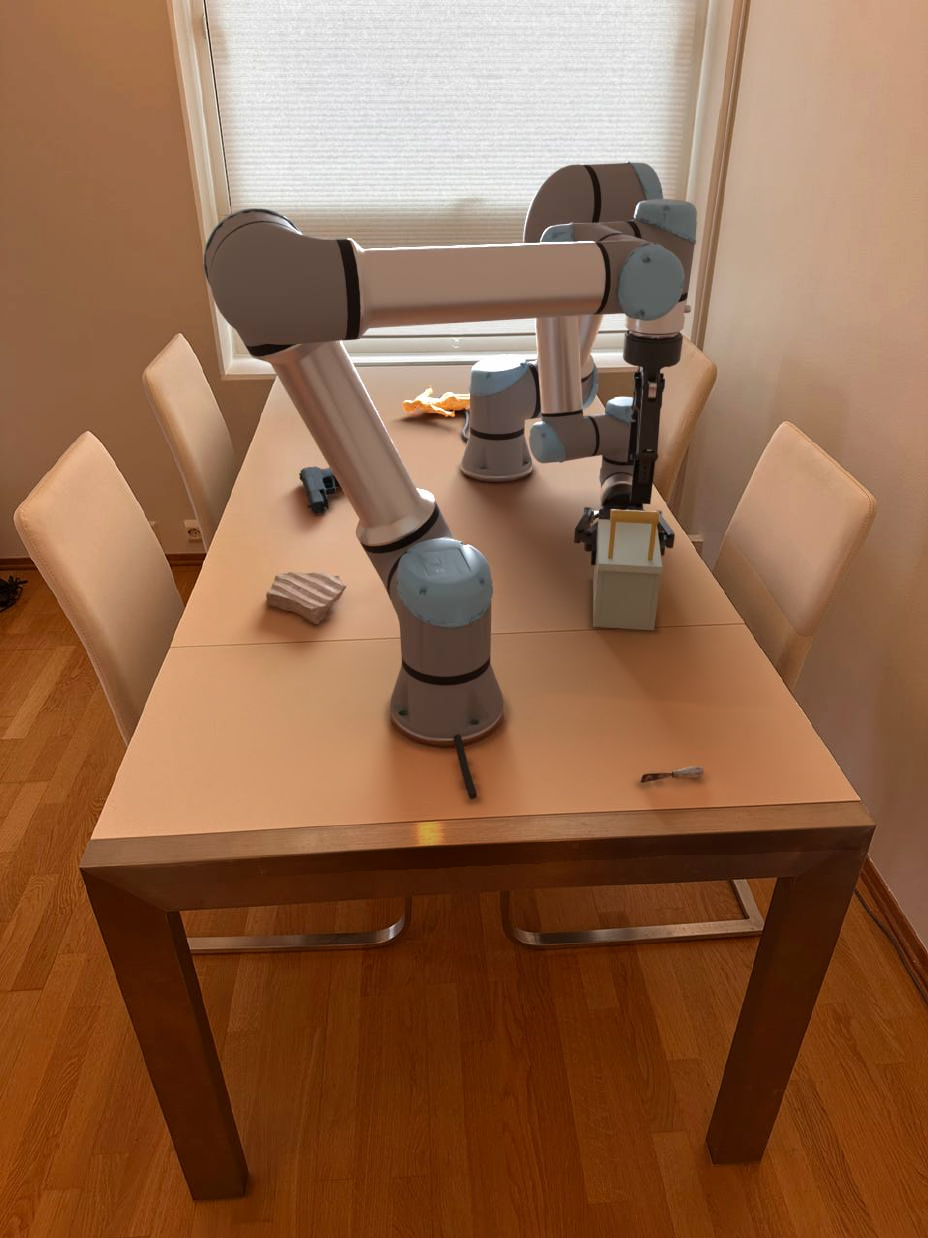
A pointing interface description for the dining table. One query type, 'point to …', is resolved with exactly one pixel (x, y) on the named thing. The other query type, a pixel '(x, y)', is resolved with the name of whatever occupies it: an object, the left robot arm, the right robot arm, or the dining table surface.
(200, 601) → the dining table surface
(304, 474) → the handgun
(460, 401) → the human figure
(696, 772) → the putty knife
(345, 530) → the dining table surface
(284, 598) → the stone
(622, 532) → the lid
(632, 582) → the chest
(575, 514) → the dining table surface
